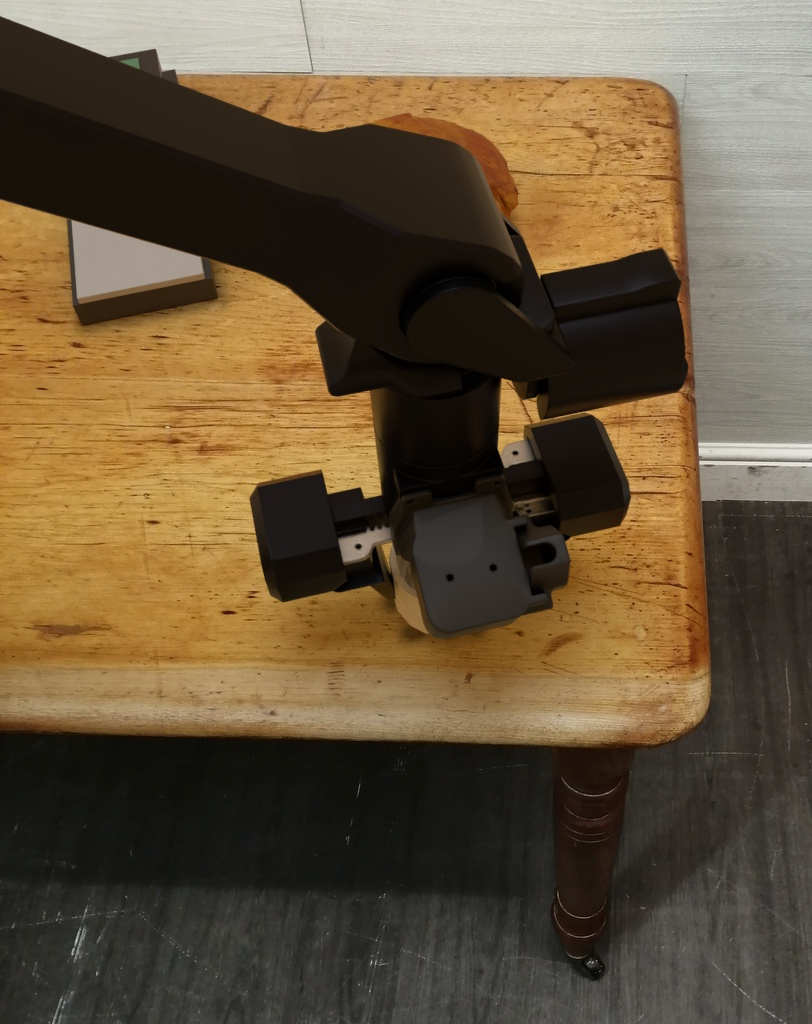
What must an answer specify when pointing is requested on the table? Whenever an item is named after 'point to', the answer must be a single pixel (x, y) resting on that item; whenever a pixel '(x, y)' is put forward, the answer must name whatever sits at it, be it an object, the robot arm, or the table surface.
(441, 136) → the croissant
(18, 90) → the robot arm
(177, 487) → the table surface
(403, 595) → the bowl
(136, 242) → the scale
